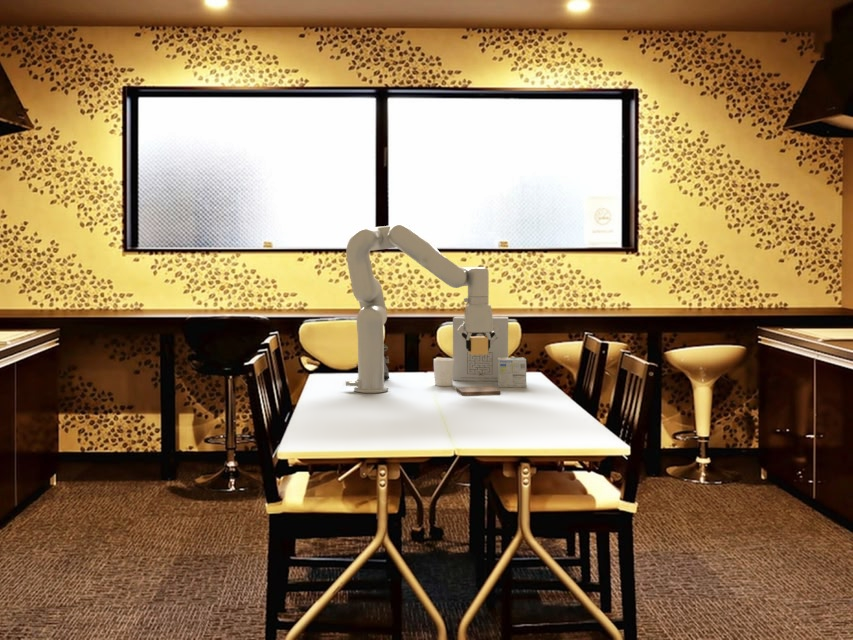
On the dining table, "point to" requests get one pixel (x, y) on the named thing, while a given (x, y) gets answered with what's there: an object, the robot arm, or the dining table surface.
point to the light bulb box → (511, 372)
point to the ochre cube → (479, 345)
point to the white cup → (443, 371)
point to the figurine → (386, 373)
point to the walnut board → (478, 390)
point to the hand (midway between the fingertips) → (478, 350)
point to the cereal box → (479, 365)
